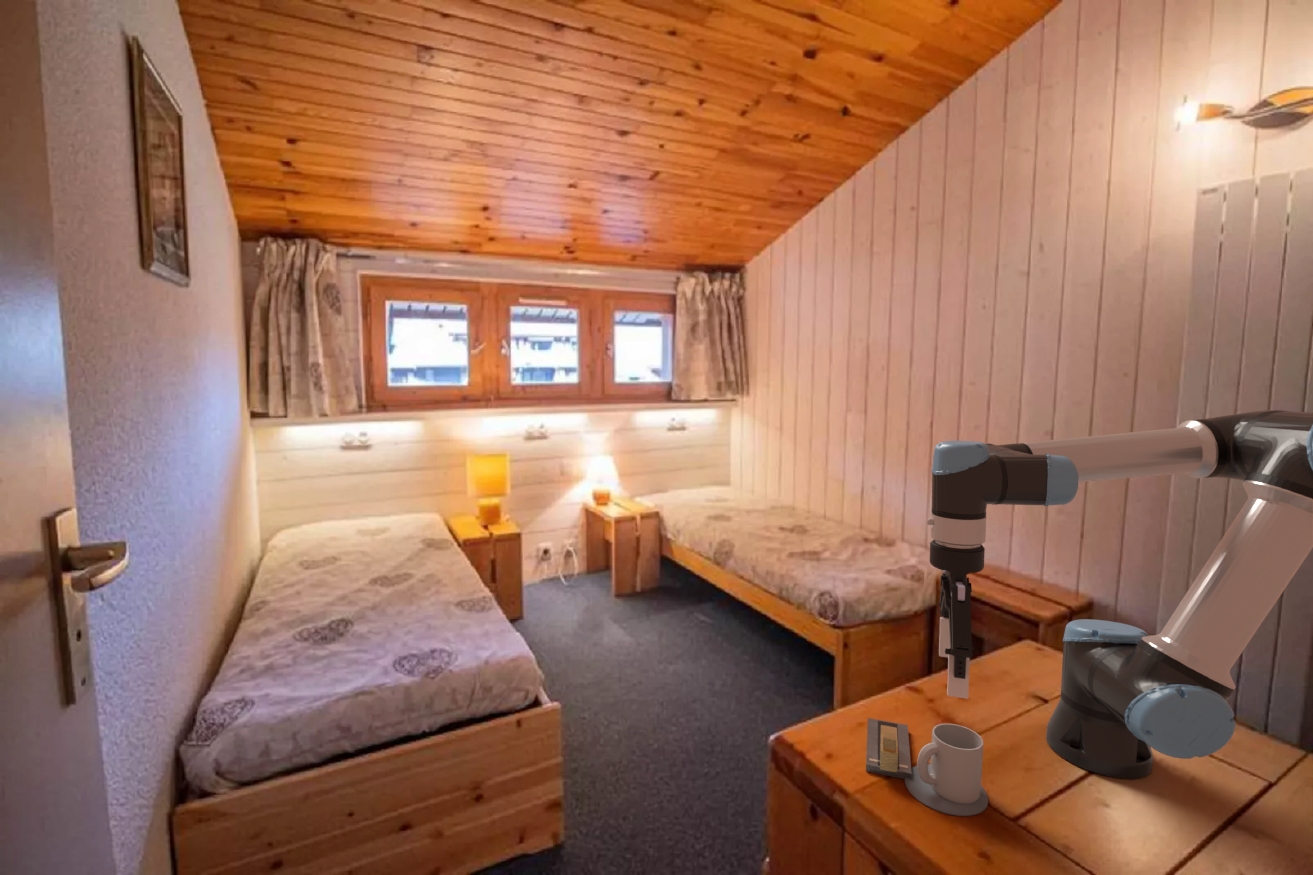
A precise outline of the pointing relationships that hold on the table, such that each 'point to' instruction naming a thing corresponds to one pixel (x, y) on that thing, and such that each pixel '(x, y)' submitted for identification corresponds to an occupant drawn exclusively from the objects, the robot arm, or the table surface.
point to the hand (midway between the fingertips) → (952, 675)
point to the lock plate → (874, 749)
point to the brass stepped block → (888, 749)
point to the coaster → (937, 802)
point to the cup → (953, 763)
